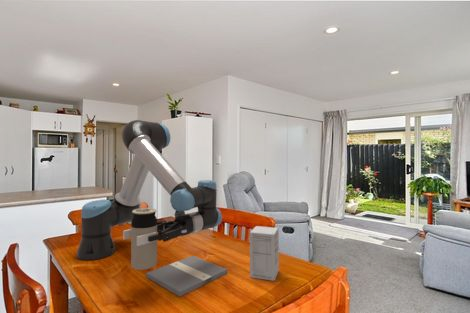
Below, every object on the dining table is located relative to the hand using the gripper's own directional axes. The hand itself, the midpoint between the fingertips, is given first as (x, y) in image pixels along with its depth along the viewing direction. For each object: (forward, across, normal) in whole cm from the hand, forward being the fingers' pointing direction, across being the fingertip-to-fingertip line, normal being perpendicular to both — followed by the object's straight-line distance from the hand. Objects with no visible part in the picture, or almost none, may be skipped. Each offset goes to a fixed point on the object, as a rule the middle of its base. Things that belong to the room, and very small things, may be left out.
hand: (130, 238), depth 82 cm
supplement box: (-42, -22, -19) cm, 51 cm away
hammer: (-50, +54, -19) cm, 76 cm away
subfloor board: (-22, -1, -19) cm, 29 cm away
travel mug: (-5, 0, -10) cm, 11 cm away
